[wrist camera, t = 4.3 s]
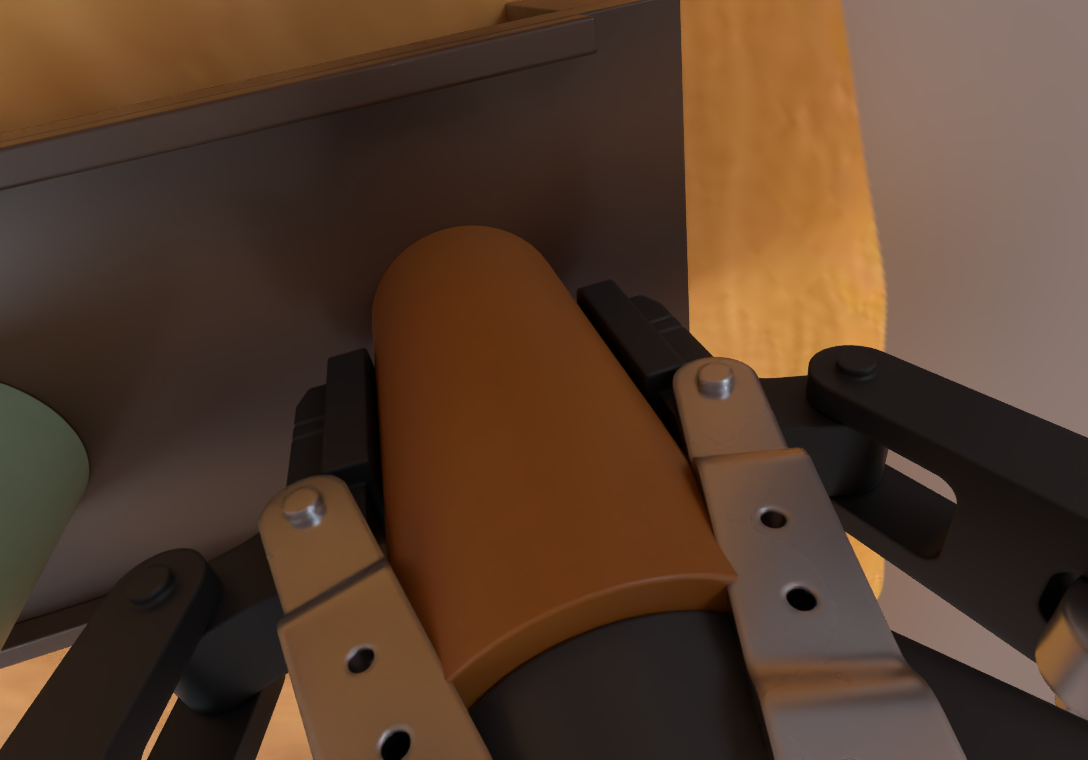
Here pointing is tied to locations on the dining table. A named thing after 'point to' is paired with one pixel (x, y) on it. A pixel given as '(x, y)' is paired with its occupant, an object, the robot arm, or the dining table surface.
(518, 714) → the amber bottle
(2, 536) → the sage bottle
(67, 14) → the dining table surface
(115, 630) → the robot arm
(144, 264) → the spice rack
